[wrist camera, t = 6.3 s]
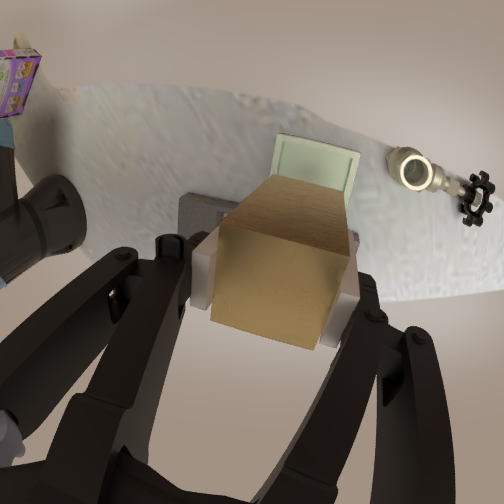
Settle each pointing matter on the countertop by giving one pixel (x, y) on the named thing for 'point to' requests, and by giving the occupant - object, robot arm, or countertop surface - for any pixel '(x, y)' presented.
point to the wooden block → (281, 261)
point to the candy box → (16, 79)
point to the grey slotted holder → (208, 215)
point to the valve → (440, 182)
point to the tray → (315, 162)
